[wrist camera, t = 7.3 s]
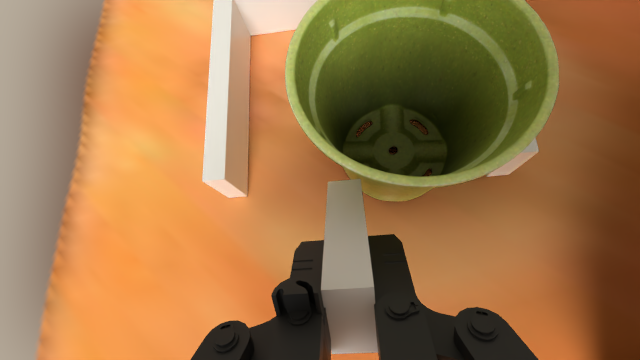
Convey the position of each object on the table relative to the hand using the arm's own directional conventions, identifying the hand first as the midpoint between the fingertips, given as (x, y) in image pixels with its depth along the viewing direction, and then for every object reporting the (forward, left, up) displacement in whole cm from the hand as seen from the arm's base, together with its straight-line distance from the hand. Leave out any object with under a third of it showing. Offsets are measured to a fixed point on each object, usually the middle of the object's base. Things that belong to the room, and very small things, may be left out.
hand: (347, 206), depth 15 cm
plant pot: (-3, -4, -4) cm, 6 cm away
